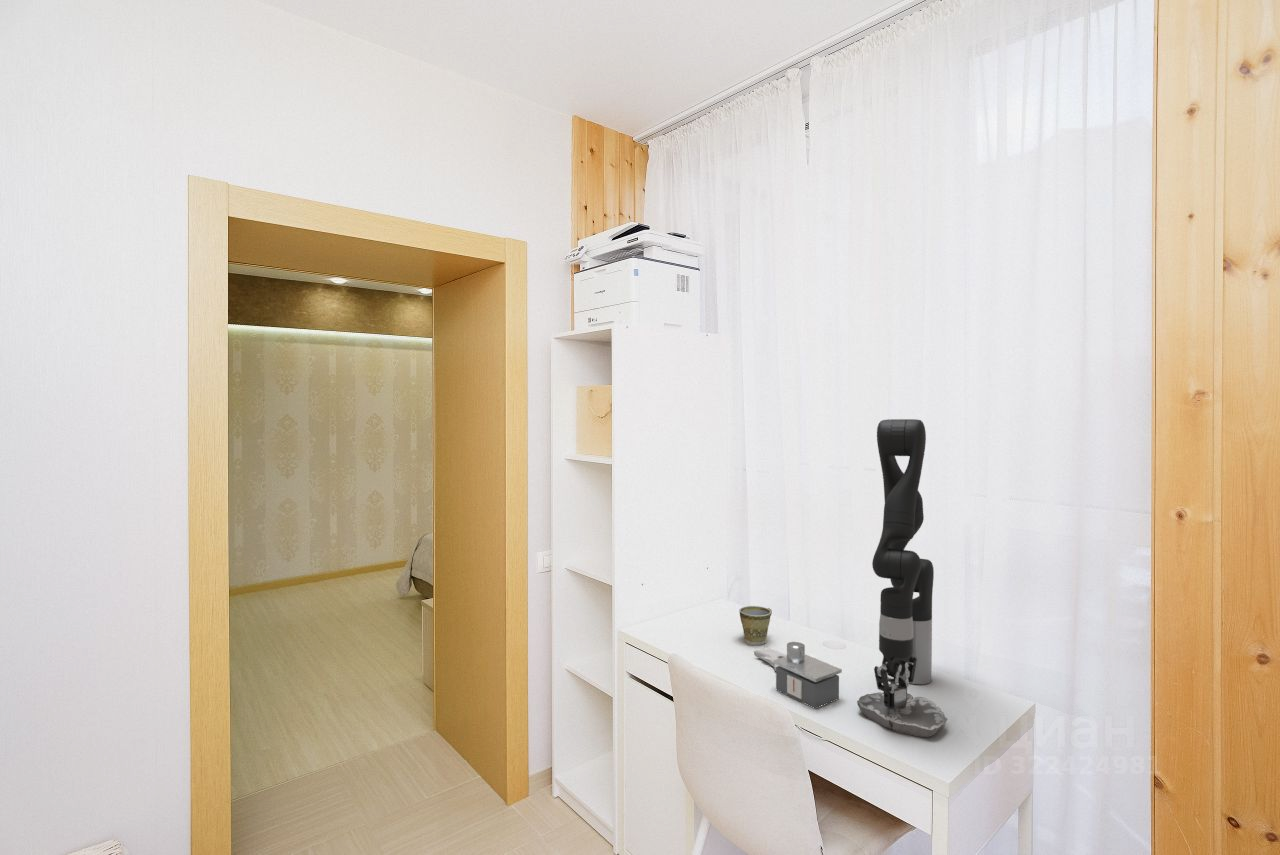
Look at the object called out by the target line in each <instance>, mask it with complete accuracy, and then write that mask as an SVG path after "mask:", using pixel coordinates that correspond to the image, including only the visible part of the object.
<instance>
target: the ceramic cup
mask: <svg viewBox="0 0 1280 855" xmlns="http://www.w3.org/2000/svg"><path fill="white" fill-rule="evenodd" d="M738 612H739V617H740V621H741V625H742V630H743V637H744V642H745V644H748V645H750V646H762V645H764V643H765V644H766V642H767V637H768V632H769V631H768V630H769V626H770V622H771V616H772V612H773V610H772V609H771V608H770V607H768V608H767V607H764V606H761V605H760V606H759V605H747V606H746V605H745V606H742V607H740V608H739V610H738ZM761 644H762V645H761Z"/></svg>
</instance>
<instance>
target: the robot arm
mask: <svg viewBox="0 0 1280 855" xmlns="http://www.w3.org/2000/svg"><path fill="white" fill-rule="evenodd" d="M926 433H927V432H926V427H925V424H924V422H923V421H922V420H921V419H917V418H916V419H914V418H913V419H912V418H911V419H909V418H908V419H907V418H906V419H905V418H900V419H899V418H898V419H897V418H896V419H895V418H894V419H893V418H892V419H889V418H888V419H883V420H880V421H879V423H878V425H877V428H876V443H877V450H878V457H879V461H880V466H881V472H882V479H883V481H882V482H883V494H884V496H883V497H884V507H883V518H882V519H883V520H882V530H881V534H880V539H879V542H878V545H877V547H876V550H875V551H874V555H873V557H872V563H871V564H872V565H871V566H872V570H873V572H874V574H875V575H876V576H877V577H878V578H881V579H890V583H891V585H892V586H890V587H885V588H883V589H882V590H881V591H880V604H879V605H880V607H879V609H880V611H879V612H880V614H879V622H878V635H879V636H878V649H879V652H880V653H881V654H882V655H883V656H882V657H883V658H882V661H881V665H880V666H877V665H875V666H874V668H873V671H874V676H875V682H876V687H877V689H878V690H879V691H881V692H884V705H885V706H886V707H888V708H890V709H892V708H894V689H895V684H899V685H902V686H904V687H905V688H906V702H907V693H908V688H909V687H910V684H913V685H927V684H930V683H932V675H933V674H932V673H933V672H932V669H933V668H932V667H933V664H932V663H933V662H932V660H933V656H932V655H933V654H932V653H933V648H932V647H933V589H934V571H935V570H934V565H933V563H932V561H931V560H930V559H925V558H920V556H919V555H918V553H917V552H915V551H913V550H906V546H908V544H909V543H910V541H911V540H912V539H913V538H914V536H915V535H916V534H917V533H918V532H919V531H920V529H921V527H922V525H923V523H924V517H925V516H924V504H923V503H924V502H923V497H922V494H921V493H920V491H919V486H920V481H921V476H922V469H923V464H924V463H923V462H924V457H925V452H926V451H925V450H926V443H927V440H926V439H927V438H926V437H927V436H926ZM896 457H909V459H908V463H907V466H906V469H905V471H904V472H903V470H902V469H901V468H900V466H899V464H898V461H897V459H896ZM914 593H918V595H919V596H917V597H915V598H914ZM889 684H891V685H890V687H889Z"/></svg>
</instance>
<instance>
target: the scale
mask: <svg viewBox="0 0 1280 855" xmlns="http://www.w3.org/2000/svg"><path fill="white" fill-rule="evenodd" d="M775 687H776V688H775V690H776V689H777V690H776V691H778V690H779V691H778V692H780V691H781V692H780V693H782V692H783V693H782V694H784V693H785V694H784V695H786V694H787V695H786V696H788V695H789V696H788V697H790V696H791V698H792V697H793V698H792V699H794V698H795V699H794V700H796V699H797V700H796V701H798V700H799V701H798V702H800V701H801V702H800V703H802V702H803V704H804V703H806V704H805V705H807V704H808V705H807V706H809V705H810V706H809V707H811V706H812V707H811V708H813V707H814V708H813V709H815V708H816V707H818V708H820V707H822V706H821V705H823V706H824V704H825V705H827V704H826V703H828V704H830V703H832V702H834V700H835V701H837V700H839V699H840V675H839V674H836V675H834V676H831V677H828V678H826V679H823V680H820V681H818V682H814V681H812V680H810V679H807V678H805V677H803V676H801V675H798V674H796V673H794V672H792V671H789V670H787V669H785V668H783V667H781V666H778V667H776V672H775ZM836 699H837V700H836ZM831 701H832V702H831ZM829 702H830V703H829ZM819 706H820V707H819ZM816 709H817V708H816Z"/></svg>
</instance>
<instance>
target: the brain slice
mask: <svg viewBox="0 0 1280 855" xmlns="http://www.w3.org/2000/svg"><path fill="white" fill-rule="evenodd" d="M856 703H857V707H858V708H859V710H860V712H861V713H863V715H864V716H865V717H866V718H867V717H868V718H867V719H869V718H870V720H871V719H872V721H874V722H875V723H877V724H879V725H880V726H882V727H884V728H887V729H890V730H893V732H896V733H899V734H903V735H906V734H907V735H910V736H912V737H913V736H914V737H917V738H919V737H920V738H929V737H931V736H933V735H935V734H936V733H937V732H938V731H939V730H941V728H942V727H943V725H945V724H946V722H947V721H948V718H947V717H946V716H945V713H944V712H943V711H942V710H941V708H940V707H939V706H938V705H937V704H936V703H935V702H934V701H932V700H929V699H928V698H926V697H921V696H915V697H914V696H913V695H912V694H911V693H908V692H907V702H906V708H904V709H894V708H892V709H890V708H888V707H886V706H885V705H884V691H881V692H873V693H867V694H865V695H862V696H860V697H859V698H858V700H857V701H856Z"/></svg>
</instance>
